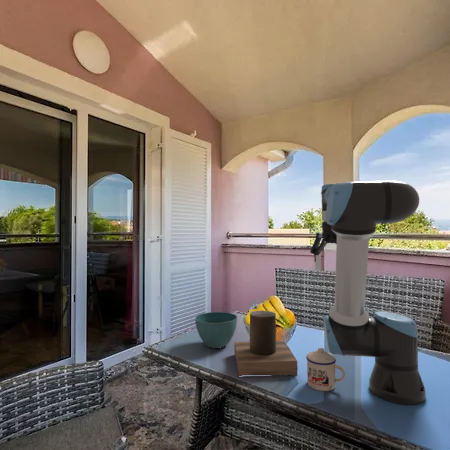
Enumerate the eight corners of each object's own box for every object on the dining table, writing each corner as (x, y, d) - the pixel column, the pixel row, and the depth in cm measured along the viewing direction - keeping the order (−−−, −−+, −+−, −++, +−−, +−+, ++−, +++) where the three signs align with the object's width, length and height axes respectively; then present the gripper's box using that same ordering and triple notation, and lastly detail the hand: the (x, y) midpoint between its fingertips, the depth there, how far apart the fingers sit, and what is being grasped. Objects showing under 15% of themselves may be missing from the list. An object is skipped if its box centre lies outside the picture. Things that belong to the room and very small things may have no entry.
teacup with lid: (302, 387, 103) (301, 349, 103) (312, 376, 110) (312, 341, 110) (341, 397, 96) (340, 358, 96) (349, 385, 103) (348, 348, 104)
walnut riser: (297, 375, 111) (297, 360, 111) (238, 377, 110) (238, 362, 110) (284, 353, 131) (283, 340, 131) (234, 354, 130) (234, 342, 130)
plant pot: (186, 348, 137) (186, 319, 137) (209, 336, 153) (209, 309, 153) (224, 356, 128) (224, 325, 128) (244, 342, 144) (244, 314, 144)
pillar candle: (269, 357, 114) (269, 314, 114) (245, 352, 119) (245, 310, 119) (280, 349, 122) (280, 308, 123) (256, 344, 127) (256, 305, 128)
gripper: (363, 220, 130) (364, 273, 130) (312, 221, 150) (313, 268, 149) (353, 220, 125) (354, 275, 125) (301, 221, 145) (302, 269, 145)
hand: (332, 271), depth 137 cm, fingers open, 13 cm apart
